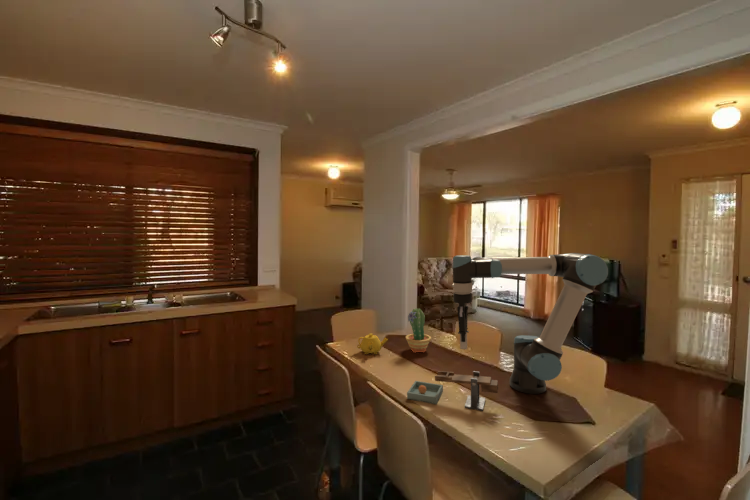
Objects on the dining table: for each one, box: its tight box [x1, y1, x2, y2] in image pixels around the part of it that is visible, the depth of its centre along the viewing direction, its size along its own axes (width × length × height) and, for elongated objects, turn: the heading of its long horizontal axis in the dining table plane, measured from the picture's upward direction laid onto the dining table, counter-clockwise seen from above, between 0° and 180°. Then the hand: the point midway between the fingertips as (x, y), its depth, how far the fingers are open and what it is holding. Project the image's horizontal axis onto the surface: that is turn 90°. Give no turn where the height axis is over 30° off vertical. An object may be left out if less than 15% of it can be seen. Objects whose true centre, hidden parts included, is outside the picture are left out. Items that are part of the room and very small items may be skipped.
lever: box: [434, 370, 499, 394], centre depth 143 cm, size 24×6×5 cm, turn 67°
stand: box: [464, 370, 486, 412], centre depth 142 cm, size 7×10×12 cm
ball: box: [418, 385, 426, 394], centre depth 151 cm, size 4×4×4 cm
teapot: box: [356, 333, 389, 356], centre depth 204 cm, size 14×14×11 cm
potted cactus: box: [405, 308, 432, 353], centre depth 207 cm, size 15×15×25 cm
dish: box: [406, 380, 444, 405], centre depth 150 cm, size 13×13×3 cm
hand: (463, 348), depth 145 cm, fingers closed
